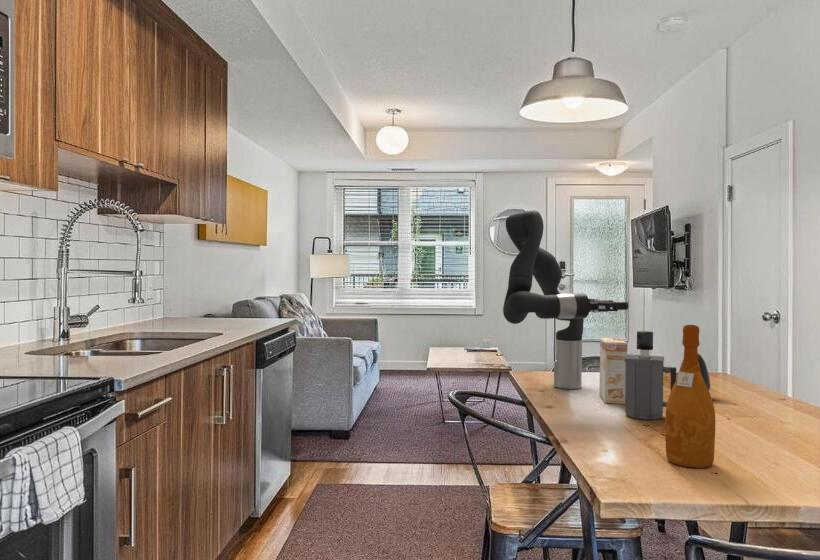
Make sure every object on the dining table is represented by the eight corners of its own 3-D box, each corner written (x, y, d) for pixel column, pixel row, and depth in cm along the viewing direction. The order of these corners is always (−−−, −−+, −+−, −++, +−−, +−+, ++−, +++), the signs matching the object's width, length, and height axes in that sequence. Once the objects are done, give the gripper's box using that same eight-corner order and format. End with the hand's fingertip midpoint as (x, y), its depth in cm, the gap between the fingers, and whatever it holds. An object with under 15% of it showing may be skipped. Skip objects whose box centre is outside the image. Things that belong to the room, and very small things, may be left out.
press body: (623, 417, 172) (624, 358, 172) (627, 410, 181) (627, 354, 181) (675, 423, 166) (676, 361, 166) (676, 415, 175) (676, 357, 175)
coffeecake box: (627, 404, 190) (628, 342, 190) (603, 403, 191) (604, 342, 191) (620, 395, 204) (621, 337, 204) (598, 394, 206) (599, 337, 206)
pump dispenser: (703, 395, 206) (703, 350, 206) (715, 401, 196) (716, 354, 196) (672, 394, 207) (672, 350, 207) (682, 400, 197) (683, 354, 197)
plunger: (628, 412, 172) (629, 332, 172) (631, 407, 179) (632, 330, 179) (657, 415, 169) (658, 333, 169) (658, 409, 176) (659, 331, 176)
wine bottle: (656, 456, 136) (658, 322, 135) (698, 455, 136) (700, 323, 136) (679, 470, 126) (681, 326, 125) (724, 469, 127) (726, 326, 126)
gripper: (580, 294, 172) (632, 293, 175) (559, 292, 186) (608, 291, 189) (580, 321, 172) (632, 319, 175) (559, 316, 187) (608, 315, 189)
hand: (620, 304), depth 182 cm, fingers open, 8 cm apart
